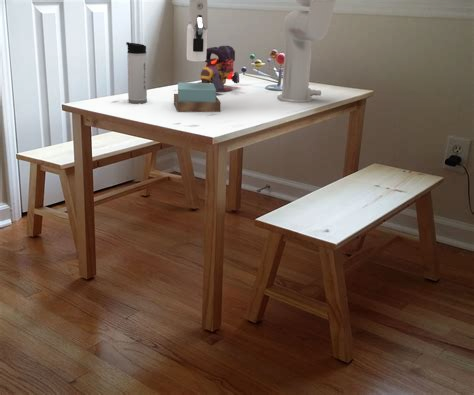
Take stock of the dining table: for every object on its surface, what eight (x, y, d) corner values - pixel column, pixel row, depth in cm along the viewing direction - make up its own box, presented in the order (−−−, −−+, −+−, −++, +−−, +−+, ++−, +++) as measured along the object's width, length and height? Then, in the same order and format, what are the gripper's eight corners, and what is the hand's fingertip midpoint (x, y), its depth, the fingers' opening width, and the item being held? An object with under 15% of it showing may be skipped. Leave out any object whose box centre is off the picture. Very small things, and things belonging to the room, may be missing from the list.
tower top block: (213, 95, 216) (213, 83, 214) (215, 102, 205) (215, 90, 203) (177, 94, 214) (178, 82, 213) (178, 101, 203) (178, 89, 202)
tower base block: (214, 105, 219) (214, 93, 218) (220, 114, 206) (220, 102, 205) (173, 105, 217) (173, 93, 215) (177, 114, 204) (177, 102, 202)
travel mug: (125, 100, 218) (124, 41, 211) (144, 99, 220) (143, 41, 213) (129, 104, 213) (128, 43, 206) (148, 103, 215) (148, 43, 208)
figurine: (218, 97, 230) (220, 50, 224) (188, 91, 237) (188, 46, 231) (246, 89, 246) (248, 46, 240) (217, 84, 253) (218, 42, 247)
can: (203, 62, 202) (204, 24, 198) (184, 61, 203) (184, 22, 199) (208, 60, 208) (209, 22, 203) (189, 58, 209) (190, 21, 205)
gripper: (214, -7, 191) (212, 54, 197) (206, -9, 207) (204, 46, 213) (189, -8, 189) (188, 53, 195) (183, -10, 205) (182, 46, 211)
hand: (196, 49), depth 204 cm, fingers closed on can, 6 cm apart
